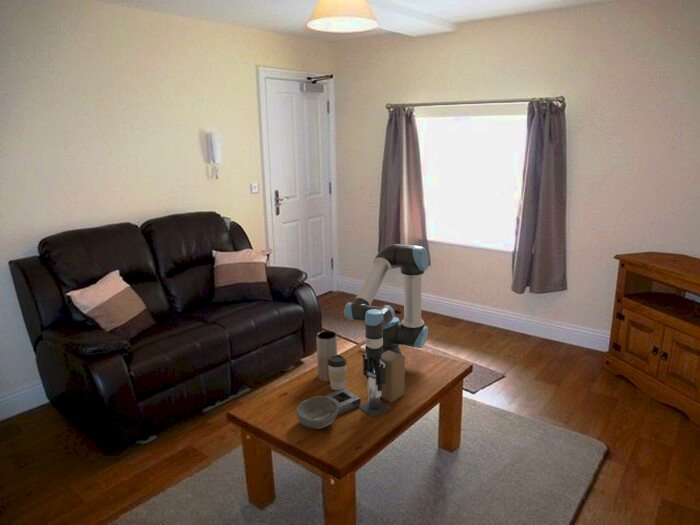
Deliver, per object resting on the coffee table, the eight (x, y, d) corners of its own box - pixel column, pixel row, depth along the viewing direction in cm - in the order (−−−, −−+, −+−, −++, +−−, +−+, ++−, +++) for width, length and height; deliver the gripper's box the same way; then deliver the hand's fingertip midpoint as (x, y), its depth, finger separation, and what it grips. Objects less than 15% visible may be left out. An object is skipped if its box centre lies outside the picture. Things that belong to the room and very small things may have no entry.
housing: (344, 394, 231) (344, 387, 230) (360, 405, 222) (360, 398, 221) (323, 403, 224) (323, 396, 223) (339, 414, 215) (338, 407, 214)
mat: (375, 400, 226) (375, 399, 226) (390, 409, 219) (390, 408, 218) (358, 407, 220) (358, 406, 220) (373, 417, 213) (373, 416, 212)
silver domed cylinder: (375, 400, 223) (374, 367, 219) (383, 405, 218) (383, 372, 214) (364, 404, 219) (364, 371, 215) (373, 410, 215) (373, 376, 211)
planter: (341, 377, 247) (340, 335, 241) (324, 383, 242) (323, 340, 236) (331, 370, 255) (329, 329, 249) (314, 375, 250) (312, 333, 244)
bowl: (304, 440, 198) (303, 423, 195) (291, 418, 213) (290, 401, 211) (345, 429, 204) (345, 412, 202) (330, 408, 220) (329, 392, 218)
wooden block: (374, 395, 230) (374, 356, 225) (388, 387, 237) (388, 349, 232) (391, 403, 223) (392, 363, 218) (405, 394, 230) (405, 355, 225)
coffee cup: (344, 392, 234) (344, 363, 230) (326, 390, 235) (325, 361, 231) (348, 382, 242) (348, 354, 238) (330, 381, 244) (330, 353, 240)
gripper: (354, 341, 216) (355, 388, 222) (381, 354, 202) (381, 405, 209) (367, 336, 220) (367, 383, 227) (394, 349, 207) (394, 399, 213)
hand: (374, 393), depth 218 cm, fingers closed on silver domed cylinder, 5 cm apart
